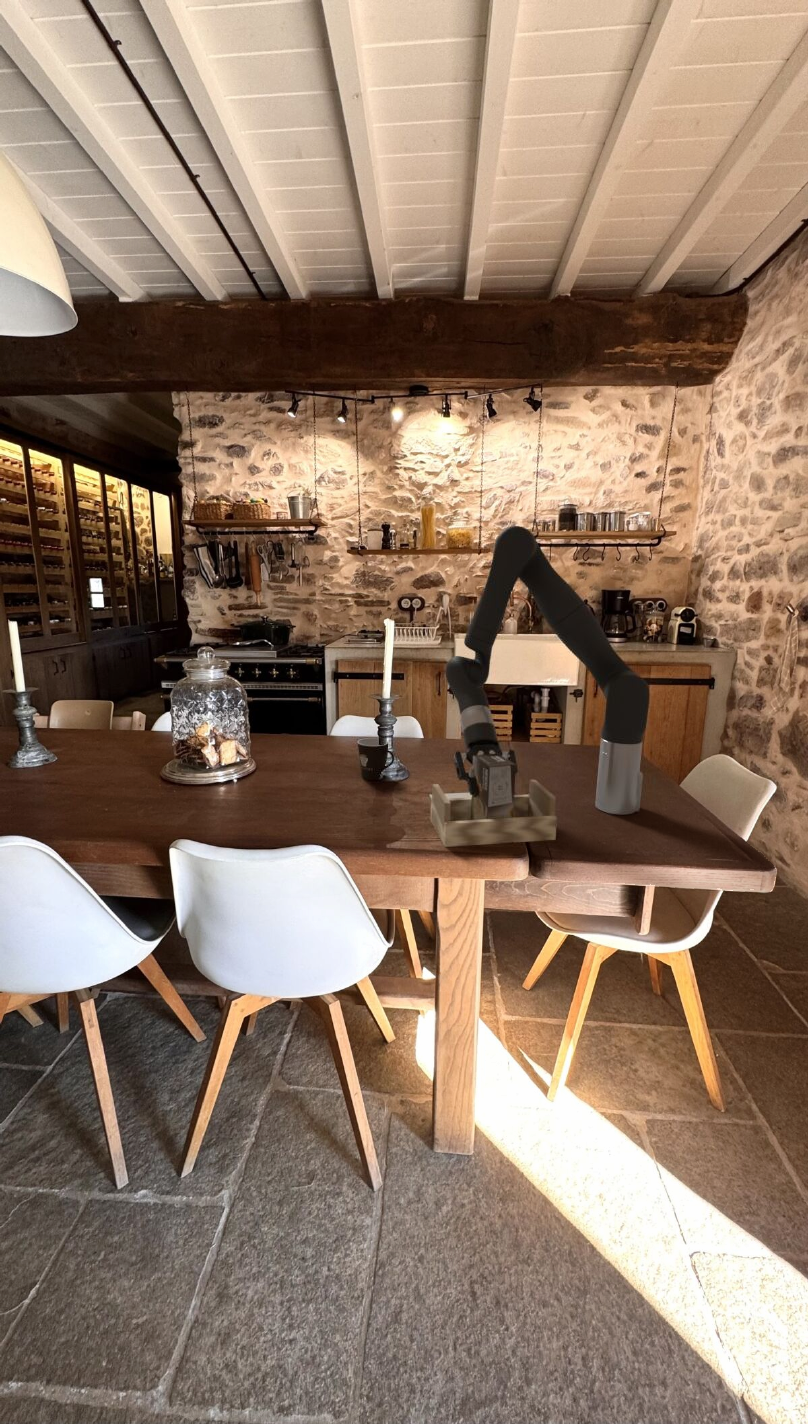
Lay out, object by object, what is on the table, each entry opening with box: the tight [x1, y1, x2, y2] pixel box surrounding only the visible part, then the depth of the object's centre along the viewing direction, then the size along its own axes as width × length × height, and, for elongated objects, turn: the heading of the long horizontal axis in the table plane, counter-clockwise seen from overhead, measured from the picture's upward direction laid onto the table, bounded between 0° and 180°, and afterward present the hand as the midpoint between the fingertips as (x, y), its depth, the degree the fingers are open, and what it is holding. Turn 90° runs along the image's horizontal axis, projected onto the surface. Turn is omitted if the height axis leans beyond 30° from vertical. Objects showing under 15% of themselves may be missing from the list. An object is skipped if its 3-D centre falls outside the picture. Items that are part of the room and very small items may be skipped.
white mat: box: [429, 792, 472, 800], centre depth 144 cm, size 18×12×1 cm, turn 100°
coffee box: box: [471, 753, 517, 820], centre depth 127 cm, size 9×6×16 cm
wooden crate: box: [430, 779, 558, 848], centre depth 127 cm, size 24×14×9 cm, turn 100°
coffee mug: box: [357, 737, 395, 781], centre depth 160 cm, size 12×9×10 cm
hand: (492, 794), depth 127 cm, fingers closed on coffee box, 7 cm apart
